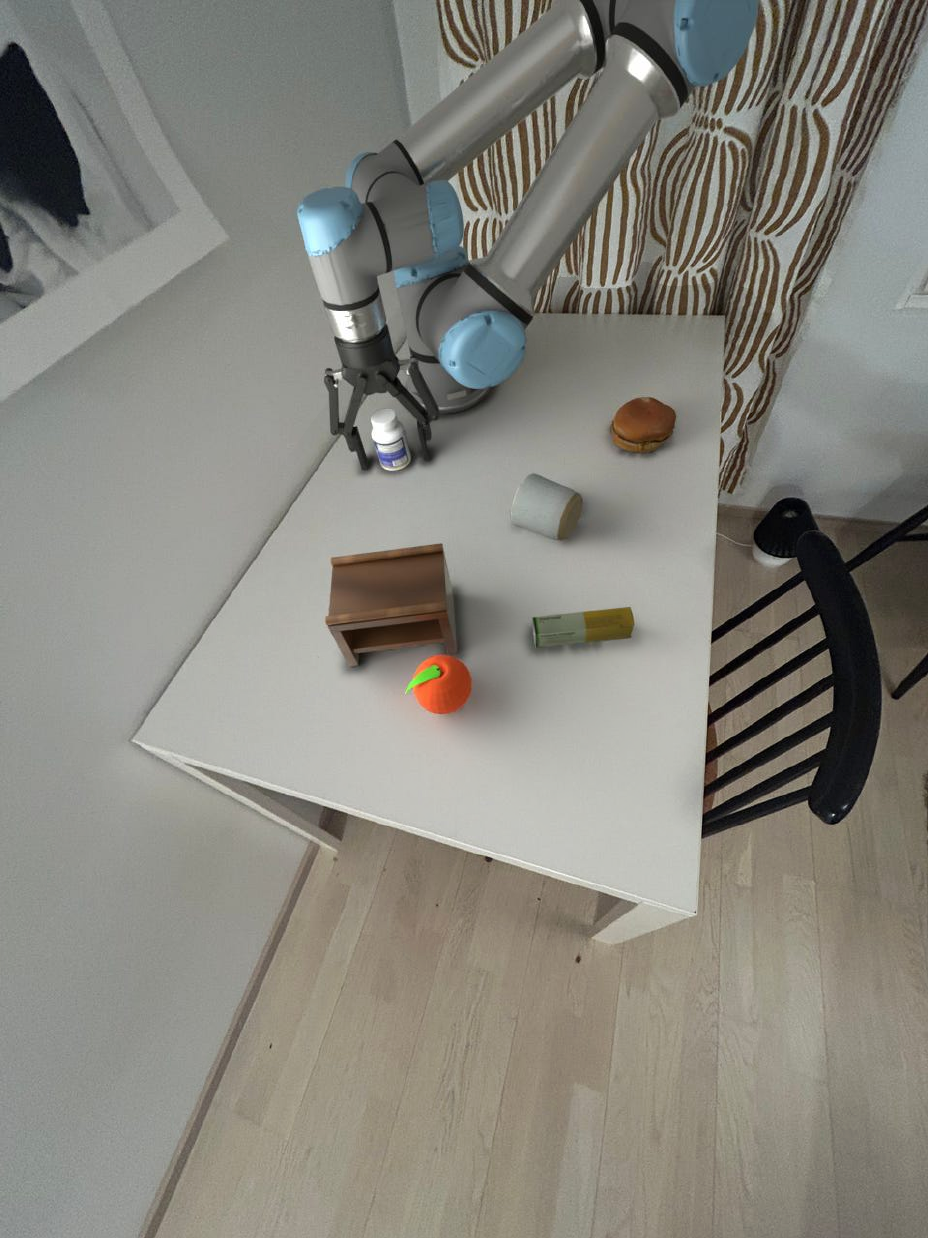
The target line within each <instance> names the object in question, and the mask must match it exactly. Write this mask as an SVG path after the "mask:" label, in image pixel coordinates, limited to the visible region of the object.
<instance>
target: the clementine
mask: <svg viewBox="0 0 928 1238" xmlns="http://www.w3.org/2000/svg"><path fill="white" fill-rule="evenodd" d="M411 689H412V692H413V696H414V698H415V699H416V701H417V702H418V704H419V705H420V706H421V707H422V708H423V709H425V711H428V712H430V713H432V714H435V715H449V714H453V713H455V712H457V711H459V710H460V709H462V707H464V705H465V704H466V703H467V702H468V700H469V698H470V697H471V694H472V689H473V679H472V676H471V673H470V671H469V669H468V667H467V666H466V664H465V663H464V662H463V661H461V660H460V659H459V658H457V657H455V656H452V655H448V654H435V655H433V656H430V657H428V658H425V659H424V660H423V661H422V662H421V663H420V664H419V666H418V667H417V668H416V669H415V672H414V675H413V678H412V680H411V681H410V682H409V684H408V686H407V688H406V689H405V692H404V696H406V695H407V693H408V692H409V691H410V690H411Z"/></svg>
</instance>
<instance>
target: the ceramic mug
mask: <svg viewBox="0 0 928 1238" xmlns="http://www.w3.org/2000/svg"><path fill="white" fill-rule="evenodd" d="M515 491H516V492H515V494H514V496H513V500H512V503H511V509H510V521H511V523H512V524H513V525H515V526H516V527H520V528H523V529H525V530H528V531H530V532H534V533H536V534H538V535H541V536H544V537H545V538H549V539H551V540H556V541H565V540H566V539H568V538H569V537H570V536H571V535H572V533H573V532H574V530H575V528H576V527H577V525H578V523H579V520H580V517H581V515H582V512H583V507H584V499H583V496H582V494H581V493H579V492H578V491H576V490H575V489H573V488H571V487H568V486H566V485H564V484H561V483H558V482H557V481H553V480H551V479H549V478H546V477H545V476H542V475H540V474H537V473H529V474H528V475H527V476H525V478H523V480H522V481H521V483H520V485H519V486H518V487H517V489H516V490H515Z"/></svg>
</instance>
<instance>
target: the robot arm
mask: <svg viewBox="0 0 928 1238" xmlns="http://www.w3.org/2000/svg"><path fill="white" fill-rule="evenodd" d="M759 4H760V0H551V7H550V9H548V10H547V11H546V12H545V13H543V14H542V15H541V16H540V17H539V18H538V19H536V21H534V22H533V23H531V24H530V26H528V27H527V28H526V29H525V30H524V31H522V32H521V33H520V34H519V35H518V36H517V37H515V38H514V39H513V40H512V41H511V42H509V43H508V44H507V45H506V46H505V47H503V49H501V50H500V51H499V52H498V53H496V54H495V55H494V56H493V57H491V58H490V59H489V60H488V61H487V62H486V63H485V64H483V65H482V66H481V67H480V68H478V70H476V71H475V72H474V73H472V74H471V75H470V76H469V77H468V78H467V79H465V81H463V82H462V83H461V84H459V85H458V86H457V87H456V88H455V89H454V90H453V91H452V92H450V93H449V94H448V95H446V96H445V97H444V98H443V99H442V100H441V101H440V102H438V103H437V104H436V105H435V106H433V108H431V109H430V110H429V111H427V112H426V113H425V114H424V115H423V116H421V118H420V119H418V120H416V121H415V122H414V123H413V124H412V125H411V126H409V128H408V129H406V130H405V131H403V133H402V134H401V135H399V136H398V137H397V138H396V139H394V140H393V141H392V142H390V143H389V144H387V146H386V147H384V148H383V149H382V150H381V151H379V152H375V151H367V152H362V153H360V154H358V155H356V156H355V157H354V158H353V159H352V160H351V162H350V163H349V166H348V167H347V171H346V174H345V181H344V183H345V186H333V187H324V188H321V189H317V190H314V191H313V192H310V193H309V194H307V195H306V196H305V197H303V198H302V200H300V202H299V203H298V206H297V212H296V213H297V214H296V215H297V219H298V223H299V227H300V231H301V234H302V239H303V242H304V250H305V252H306V254H307V257H308V258H307V259H308V261H309V264H310V266H311V270H312V273H313V276H314V280H315V282H316V286H317V288H318V292H319V294H320V297H321V300H322V304H323V305H322V306H323V308H324V311H325V314H326V317H327V321H328V325H329V327H330V330H331V332H332V333H331V334H332V335H333V336H334V337H333V341H334V343H335V347H336V349H337V353H338V356H339V359H340V362H341V368H339V369H332V368H331V367H326V368H325V369H324V376H323V383H324V386H325V387H326V389H327V392H328V408H329V410H328V411H329V429H330V434H331V435H332V436H338V435H342V436H343V437H344V439H345V442H346V445H347V448H348V450H349V451H350V453H356V455H357V458H358V461H359V463H360V467H361V470H362V471H366V470H368V456H367V453H366V451H365V447H364V443H363V441H362V438H361V437H362V436H361V435H360V432H359V427H358V426H354V425H355V422H356V420H357V415H358V412H359V408H360V406H361V402H362V400H363V396H364V395H365V396H372V395H374V394H386V393H387V392H388V394H390V396H392V397H393V398H395V399H396V400H397V401H398V402H399V403H400V404H401V405H402V407H404V409H406V411H407V412H408V413H409V414H410V415H411V416H412V417H413V418H414V419H415V420H416V430H417V435H418V440H419V444H420V449H421V453H422V457H423V461H424V462H429V461H430V459H429V458H430V457H429V447H428V442H430V441H432V439H433V436H432V434H433V433H432V428H431V422H433V421H434V422H437V421H438V420H439V419H440V415H451V414H456V413H460V412H464V411H467V410H469V409H471V408H473V407H475V406H477V405H478V404H480V403H481V402H482V401H484V400H485V399H486V398H487V396H488V395H489V393H490V391H491V388H492V387H495V386H498V385H499V384H501V383H503V382H505V381H506V380H507V379H509V378H510V377H511V376H512V375H513V374H514V373H515V372H516V371H517V369H519V367H520V365H521V363H522V362H523V360H524V358H525V355H526V351H527V348H526V344H527V334H526V329H528V328H527V327H529V325H530V324H531V322H532V321H533V319H534V317H535V316H536V309H535V298H536V296H537V295H538V293H539V292H540V290H541V289H542V287H543V286H544V285H545V283H546V282H547V280H548V278H549V277H550V276H551V275H552V273H553V271H554V270H555V269H556V267H557V266H558V264H559V263H560V261H561V260H562V258H563V257H564V256H565V255H566V252H567V251H568V250H569V249H570V247H571V245H572V244H573V242H575V240H576V238H577V237H578V235H579V234H580V232H581V231H582V230H583V228H584V227H585V225H586V224H587V223H588V221H589V219H590V218H591V216H592V215H593V213H594V212H595V210H596V209H597V207H598V206H599V205H600V204H601V202H602V200H603V199H604V198H605V196H606V195H607V194H608V192H609V190H610V189H611V188H612V186H613V184H614V183H615V182H616V180H617V179H618V177H619V176H620V174H622V172H623V170H624V169H625V167H626V166H627V164H628V163H629V161H630V160H631V159H632V157H633V156H634V154H635V153H636V151H637V150H638V149H639V147H640V146H641V144H642V143H643V141H644V140H645V138H646V137H647V135H648V134H649V133H650V131H651V130H652V128H653V127H654V126H655V124H656V122H657V121H659V120H663V119H664V120H665V119H667V118H671V117H675V116H676V115H677V114H678V113H679V111H680V110H681V109H682V107H683V105H685V103H686V101H688V99H689V98H690V96H691V95H692V93H693V92H694V90H695V89H696V88H697V87H706V86H707V87H708V86H710V85H711V84H714V83H718V82H720V81H721V80H723V79H724V78H725V77H726V76H728V74H729V73H731V71H732V70H733V69H734V68H735V67H736V65H737V64H738V62H739V61H740V59H742V56H743V54H744V53H745V51H746V49H747V47H748V45H749V42H750V40H751V38H752V36H753V33H754V30H755V27H756V24H757V19H758V16H759ZM603 68H604V69H603ZM602 69H603V71H602V72H601V74H600V75H599V76H598V79H597V80H596V81H595V83H594V85H593V86H592V88H591V90H590V91H589V93H588V94H587V95H586V97H585V99H584V101H583V102H582V104H581V105H580V107H579V109H578V110H577V112H576V113H575V115H574V116H573V118H572V120H571V121H570V123H569V125H568V126H567V127H566V129H565V131H564V132H563V134H562V135H561V137H560V138H559V140H558V142H557V143H556V145H555V146H554V148H553V150H552V151H551V153H550V155H549V156H548V157H547V159H546V161H545V162H544V164H543V166H542V167H541V168H540V170H539V172H538V173H537V175H536V176H535V178H534V180H533V181H532V183H531V184H530V186H529V187H528V189H527V190H526V192H525V194H524V195H523V197H522V199H521V201H520V202H519V204H518V205H517V207H516V208H515V210H514V211H513V213H512V214H511V216H510V218H509V219H508V221H507V222H506V224H505V225H504V227H503V229H502V230H501V232H500V234H499V235H498V237H497V238H496V240H495V242H494V243H493V245H492V246H491V248H490V250H489V251H488V252H487V254H486V255H485V256H483V257H479V258H474V259H470V260H469V258H468V252H467V250H466V249H465V248H464V247H463V246H461V245H462V242H463V239H464V235H465V223H464V215H463V214H464V213H463V209H462V205H461V202H460V198H459V195H458V193H457V191H456V190H455V188H454V186H453V185H452V184H451V182H449V181H450V180H451V179H452V178H454V177H455V176H456V175H458V173H460V172H461V171H462V170H464V169H465V168H466V167H467V166H469V165H470V164H471V163H472V162H474V161H475V160H476V159H477V158H479V157H480V156H481V155H482V154H483V153H484V152H486V151H487V150H489V149H490V148H491V147H492V146H493V145H494V144H496V143H497V142H498V141H499V140H501V139H502V138H503V137H504V136H506V135H507V134H508V133H510V132H511V131H512V130H513V129H514V128H516V127H517V126H518V125H519V124H521V122H523V121H525V120H526V119H527V118H528V117H529V116H530V115H532V114H533V113H534V112H535V111H537V110H538V109H539V108H540V107H542V106H543V105H544V104H545V103H547V102H548V101H549V100H551V98H553V97H554V96H555V95H556V94H557V93H559V92H560V91H561V90H563V89H564V88H565V87H566V86H567V85H569V84H570V83H571V82H572V81H574V80H575V79H576V78H578V79H581V80H583V81H586V80H589V79H590V78H591V77H592V76H594V75H595V74H597V73H598V72H599V71H601V70H602ZM391 272H393V275H394V276H393V277H394V282H395V284H394V288H395V289H396V294H397V297H398V302H399V307H400V312H401V316H402V322H403V327H404V331H405V332H404V333H405V336H406V340H407V344H408V350H409V358H406V359H405V358H404V359H399V357H398V356H397V355H396V354H395V350H394V346H393V342H392V338H391V333H390V328H389V325H388V324H387V315H386V311H385V308H384V307H385V306H384V301H383V298H382V293H381V290H380V285H379V282H378V280H379V279H378V276H381V275H385V274H388V273H391ZM400 371H403V372H404V374H405V375H406V376H407V377H406V378H407V379H406V386H404V385H403V383H402V382H401V379H400V378H399V377H398V375H399V372H400ZM342 380H344V381H346V382H347V383H348V384H349V385H350V386H351V387H353V389H352V393H351V397H350V400H349V403H348V407H347V410H346V415H345V418H344V420H343V421H340V403H339V401H340V399H339V387H340V386H341V384H342Z"/></svg>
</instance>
